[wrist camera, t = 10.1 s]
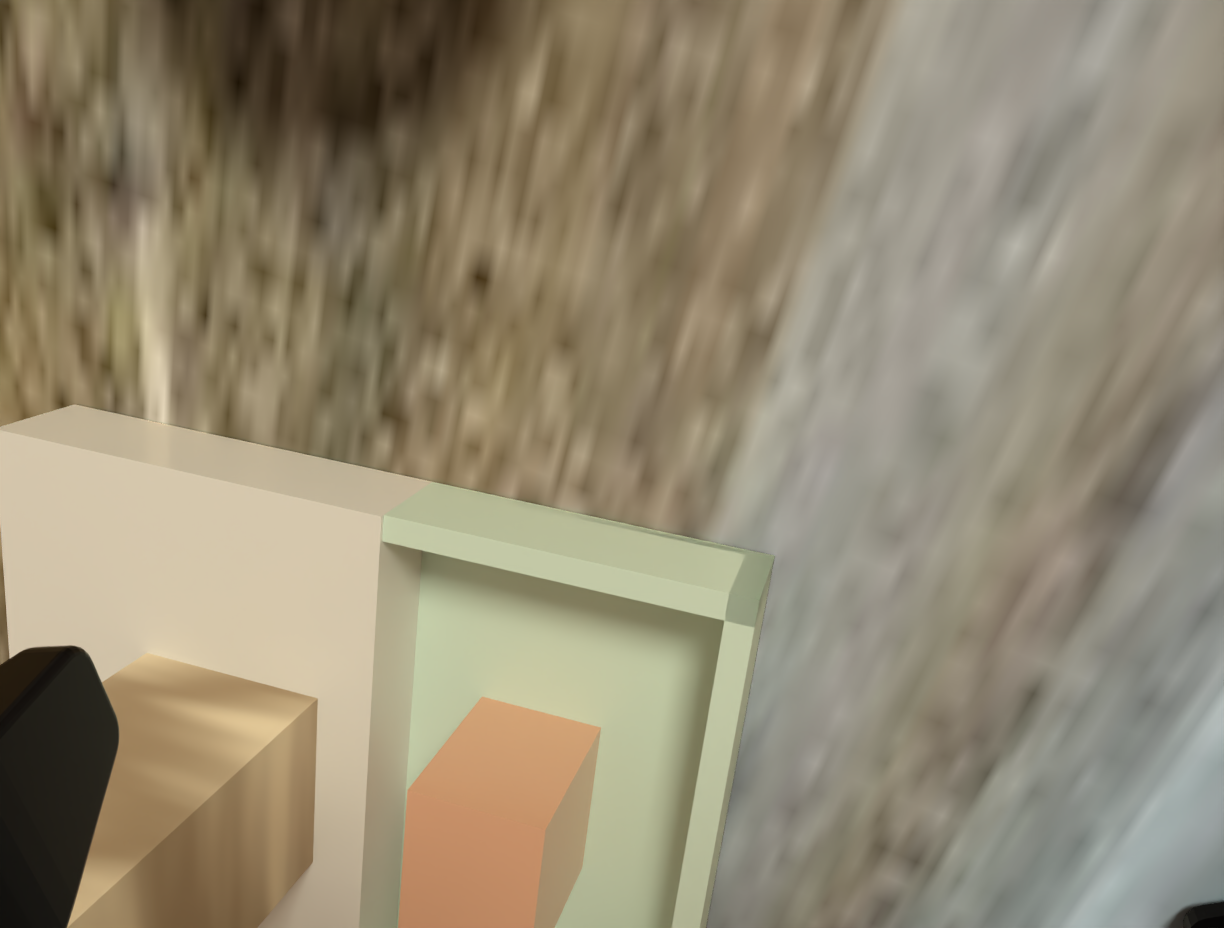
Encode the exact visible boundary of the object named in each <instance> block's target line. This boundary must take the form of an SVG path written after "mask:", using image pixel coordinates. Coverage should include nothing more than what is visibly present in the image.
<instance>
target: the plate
mask: <svg viewBox="0 0 1224 928" xmlns="http://www.w3.org/2000/svg"><path fill="white" fill-rule="evenodd" d="M430 483H431V481H426V480H421V479H417V478H412V477H408V476H403V475H398V474H394V473H389V472H384V471H380V470H375V469H371V468H366V467H361V466H357V465H352V464H347V463H343V462H338V461H334V460H329V459H324V458H320V457H315V456H310V455H306V454H301V453H297V452H292V451H287V450H283V449H278V448H273V447H269V446H264V445H260V444H255V443H250V442H246V441H241V440H236V439H232V438H227V437H222V436H218V435H213V434H209V433H204V432H199V431H195V430H190V429H185V428H181V427H176V426H172V425H167V424H162V423H158V422H153V421H148V420H144V419H139V418H135V417H130V416H125V415H121V414H116V413H111V412H107V411H102V410H98V409H93V408H88V407H84V406H79V405H71V406H68V407H65V408H61V409H58V410H55V411H51V412H48V413H45V414H41V415H38V416H35V417H31V418H28V419H25V420H21V421H18V422H15V423H11V424H8V425H5V426H1V427H0V524H1V539H2V553H3V568H4V582H5V597H6V611H7V626H8V640H9V655H10V658H12V657H13V656H15V655H16V654H18V653H19V652H21V651H23V650H25V649H28V648H33V647H44V646H67V645H73V646H77V647H81V648H82V649H84V650H85V651H86V652H87V653H88V654H89V655H90V657H91V659H92V661H93V663H94V665H95V668H96V670H97V672H98V675H99V677H100V679H101V682H103V681H105V680H106V679H108V678H109V677H111V676H112V675H114V674H115V673H117V672H118V671H120V670H121V669H123V668H124V667H126V666H128V665H129V664H131V663H132V662H134V661H135V660H137V659H138V658H140V657H141V656H143V655H144V654H146V653H149V654H153V655H157V656H161V657H164V658H168V659H172V660H176V661H179V662H183V663H187V664H191V665H194V666H198V667H202V668H206V669H209V670H213V671H217V672H221V673H224V674H228V675H232V676H236V677H240V678H243V679H247V680H251V681H255V682H258V683H262V684H266V685H270V686H273V687H277V688H281V689H285V690H288V691H292V692H296V693H300V694H303V695H307V696H311V697H315V698H318V710H317V743H316V777H315V810H314V843H313V863H312V864H311V865H310V866H309V867H308V869H307V870H306V871H305V872H304V873H303V874H302V876H301V877H300V878H299V879H298V880H297V882H296V883H295V884H294V885H293V886H292V887H291V889H290V890H289V891H288V892H287V893H286V895H285V896H284V897H283V898H282V899H281V900H280V902H279V903H278V904H277V905H276V906H275V908H274V909H273V910H272V911H271V912H270V913H269V915H268V916H267V917H266V918H265V919H264V921H263V922H262V923H261V924H260V925H259V926H258V928H396V926H397V911H398V897H399V882H400V868H401V853H402V839H403V824H404V810H405V795H406V780H407V766H408V751H409V737H410V722H411V708H412V693H413V679H414V664H415V650H416V635H417V621H418V606H419V592H420V577H421V562H422V550H418V549H414V548H409V547H405V546H401V545H396V544H392V543H388V542H383V541H382V538H383V520H384V515H385V514H386V513H387V512H389V511H390V510H392V509H393V508H395V507H396V506H398V505H399V504H401V503H402V502H404V501H405V500H406V499H408V498H409V497H411V496H412V495H414V494H415V493H417V492H418V491H420V490H421V489H423V488H424V487H426V486H427V485H428V484H430Z"/></svg>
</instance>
